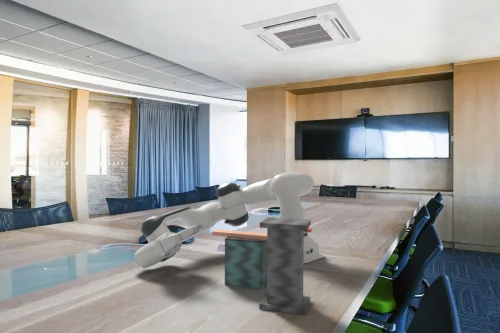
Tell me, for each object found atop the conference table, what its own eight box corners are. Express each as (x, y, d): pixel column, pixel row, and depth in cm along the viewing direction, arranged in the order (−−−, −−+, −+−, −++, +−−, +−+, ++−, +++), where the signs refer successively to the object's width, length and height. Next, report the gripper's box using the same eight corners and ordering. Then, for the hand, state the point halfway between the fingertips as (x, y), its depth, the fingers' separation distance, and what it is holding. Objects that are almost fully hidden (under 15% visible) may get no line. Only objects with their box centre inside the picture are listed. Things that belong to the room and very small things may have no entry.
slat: (211, 235, 130) (211, 231, 130) (216, 233, 133) (216, 229, 133) (279, 241, 120) (279, 237, 120) (282, 239, 124) (282, 234, 124)
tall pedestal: (259, 308, 105) (259, 222, 104) (267, 296, 115) (267, 217, 114) (306, 314, 101) (306, 225, 100) (310, 301, 111) (310, 219, 110)
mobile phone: (215, 249, 171) (220, 242, 186) (215, 251, 171) (220, 244, 186) (230, 249, 171) (234, 242, 186) (230, 251, 171) (234, 244, 186)
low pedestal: (224, 284, 125) (224, 238, 125) (233, 275, 135) (233, 232, 134) (262, 288, 121) (262, 241, 121) (269, 279, 131) (269, 235, 130)
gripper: (185, 244, 146) (212, 229, 143) (159, 257, 127) (189, 241, 123) (178, 231, 147) (205, 216, 143) (151, 242, 127) (181, 225, 124)
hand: (197, 227), depth 133 cm, fingers open, 8 cm apart
